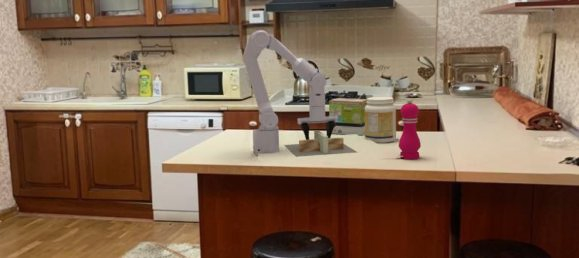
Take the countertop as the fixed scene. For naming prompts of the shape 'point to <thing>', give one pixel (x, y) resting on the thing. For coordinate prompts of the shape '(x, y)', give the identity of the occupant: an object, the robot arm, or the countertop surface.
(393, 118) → the supplement tub
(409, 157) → the pepper mill
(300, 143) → the oak slotted plate
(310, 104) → the robot arm
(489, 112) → the countertop surface
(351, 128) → the tea box
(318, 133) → the sage notched plate
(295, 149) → the board
